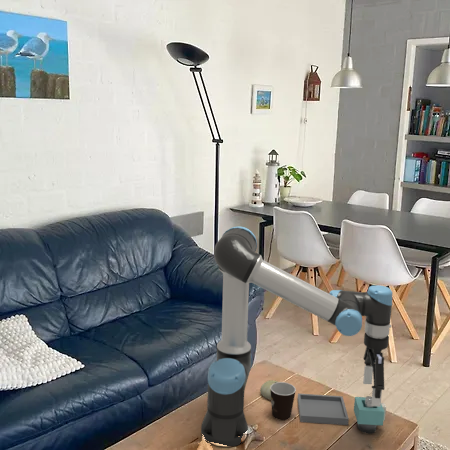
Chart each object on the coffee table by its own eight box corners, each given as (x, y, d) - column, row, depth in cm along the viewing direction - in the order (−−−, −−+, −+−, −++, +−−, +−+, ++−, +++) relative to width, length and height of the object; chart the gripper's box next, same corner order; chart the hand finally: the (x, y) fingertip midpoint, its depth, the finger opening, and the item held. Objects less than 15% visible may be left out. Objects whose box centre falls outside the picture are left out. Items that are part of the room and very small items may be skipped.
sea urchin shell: (285, 383, 199) (286, 377, 192) (284, 405, 195) (284, 399, 188) (261, 381, 200) (261, 375, 193) (259, 402, 196) (259, 397, 189)
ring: (357, 423, 172) (359, 410, 171) (353, 409, 179) (355, 396, 178) (386, 425, 171) (388, 411, 170) (381, 411, 179) (382, 398, 178)
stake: (359, 433, 174) (362, 402, 171) (356, 422, 179) (359, 393, 177) (377, 434, 173) (381, 404, 171) (374, 423, 179) (377, 394, 177)
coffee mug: (292, 423, 177) (294, 396, 175) (267, 420, 179) (268, 393, 177) (295, 405, 188) (297, 379, 186) (271, 401, 190) (272, 376, 188)
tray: (300, 421, 179) (300, 415, 178) (297, 399, 192) (297, 393, 192) (348, 425, 178) (348, 418, 177) (342, 402, 191) (342, 396, 191)
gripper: (398, 352, 156) (392, 416, 161) (380, 319, 181) (375, 375, 185) (372, 351, 157) (367, 415, 161) (357, 318, 181) (353, 374, 186)
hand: (371, 394), depth 173 cm, fingers open, 13 cm apart
